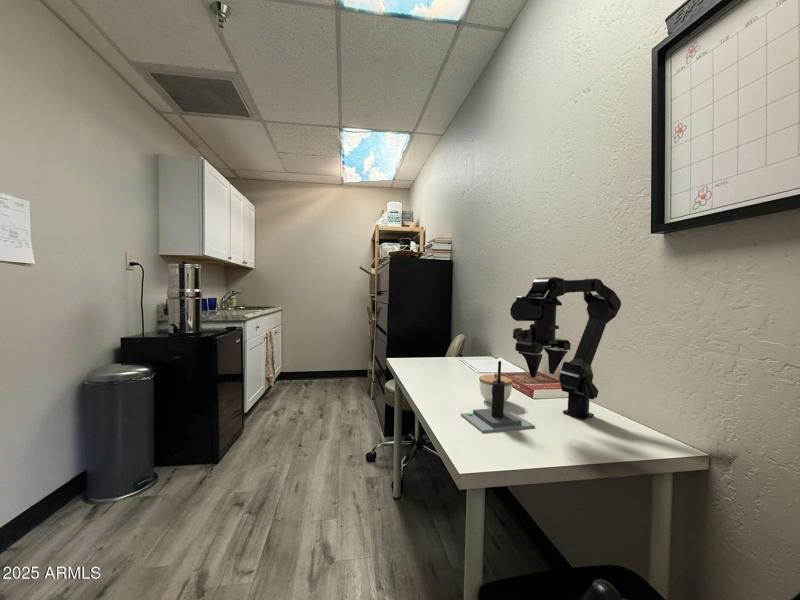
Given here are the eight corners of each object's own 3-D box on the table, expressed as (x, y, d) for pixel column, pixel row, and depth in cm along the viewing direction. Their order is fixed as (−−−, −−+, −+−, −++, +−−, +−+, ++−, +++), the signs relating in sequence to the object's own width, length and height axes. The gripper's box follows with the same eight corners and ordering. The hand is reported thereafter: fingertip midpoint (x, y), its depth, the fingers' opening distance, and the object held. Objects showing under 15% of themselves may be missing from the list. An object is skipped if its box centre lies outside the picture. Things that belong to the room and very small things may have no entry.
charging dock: (507, 411, 99) (508, 405, 99) (534, 427, 88) (534, 421, 88) (460, 415, 95) (460, 409, 95) (482, 432, 83) (482, 425, 83)
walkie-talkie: (503, 418, 88) (505, 364, 88) (490, 416, 89) (492, 362, 89) (503, 412, 93) (505, 360, 93) (491, 411, 94) (493, 359, 94)
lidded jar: (513, 408, 103) (514, 378, 102) (478, 404, 105) (480, 376, 105) (509, 398, 113) (510, 371, 113) (477, 395, 115) (478, 368, 115)
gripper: (538, 318, 104) (535, 366, 105) (500, 319, 94) (498, 372, 94) (572, 321, 95) (570, 374, 95) (535, 322, 85) (532, 382, 85)
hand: (542, 375), depth 93 cm, fingers open, 9 cm apart
